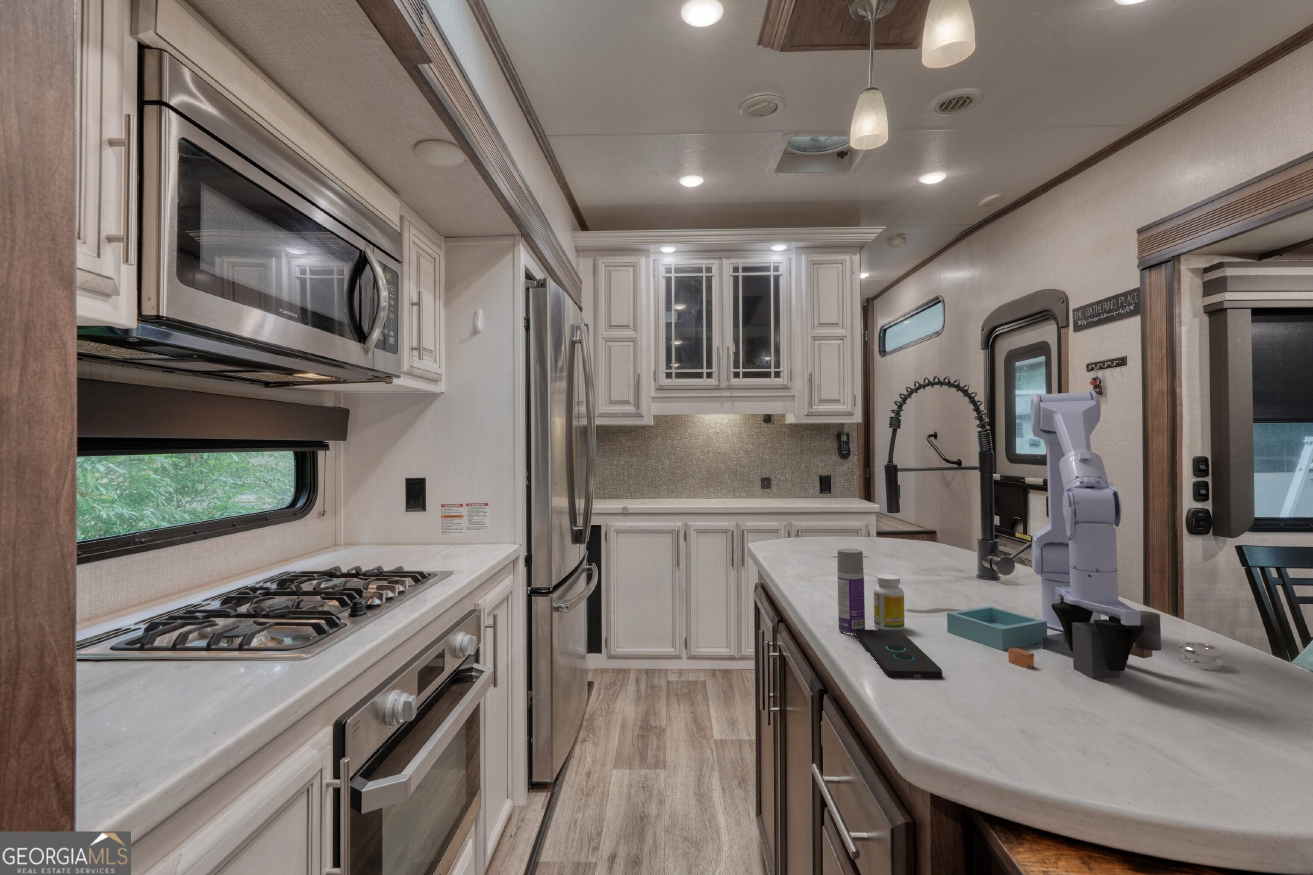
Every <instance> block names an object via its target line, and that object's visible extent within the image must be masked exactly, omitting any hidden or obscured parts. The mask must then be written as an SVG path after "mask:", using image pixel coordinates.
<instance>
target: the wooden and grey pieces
mask: <svg viewBox="0 0 1313 875" xmlns="http://www.w3.org/2000/svg"><path fill="white" fill-rule="evenodd" d="M1042 648H1043V650H1047V651H1050V652H1054V653H1057V654H1060V655H1063V656H1066V657H1070V658H1072V659H1073V652H1071V651H1070V649H1069V646H1068V643H1067V640H1066V638H1065V637H1064V636H1063V632H1058V633H1054V634H1047V636H1043V643H1042ZM1007 653H1008V654H1007V655H1008V662H1009V663H1011V664H1014V665H1017V666H1019V667H1022V668H1025V669H1029V668H1034V667H1035V655H1034V653H1033V652H1030V651H1027V650H1023V649H1021V648H1019V647H1018V648H1011V649H1008V650H1007Z"/></svg>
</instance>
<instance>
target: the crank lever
mask: <svg viewBox="0 0 1313 875" xmlns="http://www.w3.org/2000/svg"><path fill="white" fill-rule="evenodd" d="M1139 611H1140V624H1143V625H1144V631H1143V632H1142V633H1141V634H1140V635H1139V637H1138V638H1137V640H1136V641H1135V643H1134V645H1133V647H1132V649H1131V652H1130V655H1129V656H1134V657H1138V658H1141V659H1147V658H1152V657H1153V651H1154V652H1158V651H1161V650H1162V635H1161V615H1160V613H1158V612H1153V611H1149V610H1147V611H1146V610H1139ZM1062 633H1063V636H1064V637H1065V638H1066V636H1065V633H1064V630H1063V631H1062Z"/></svg>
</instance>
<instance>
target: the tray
mask: <svg viewBox="0 0 1313 875" xmlns="http://www.w3.org/2000/svg"><path fill="white" fill-rule="evenodd" d="M946 620H947V621H946V622H947V623H946V624H947V625H946V627H947V628H946V629H947V631H946V632H947V633H949V634H953V635H955V636H958V637H961V638H965V639H967V640H971V641H973V642H976V643H979V644H982V645H984V646H988V647H991V648H993V649H997V650H1000V651H1008V649H1011V648H1018V649H1019V648H1023V647H1027V646H1032V645H1037V644H1043V636H1047V635H1048V627H1047V621H1044V620H1040V618H1036V617H1032V616H1028V615H1025V614H1020V613H1017V612H1014V611H1011V610H1010V611H1009V610H1005V609H1003V608H999V607H995V606H991V605H990V606H989V605H988V606H982V607H981V606H980V607H976V608H969V609H963V610H955V611H950V612H949V611H948V612H946Z"/></svg>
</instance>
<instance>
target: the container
mask: <svg viewBox="0 0 1313 875" xmlns="http://www.w3.org/2000/svg"><path fill="white" fill-rule="evenodd" d="M864 574H865V573H864V555H863V550H862V549H858V548H839V549H837V606H838V607H837V608H838V610H837V611H838V612H837V613H838V631H839V630H840V631H842V632H845V633H850V634H851V633H852V634H856V630H857V629H866V618H865V617H866V614H865V610H866V608H865V607H866V606H865V575H864ZM840 631H839V632H840Z"/></svg>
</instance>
